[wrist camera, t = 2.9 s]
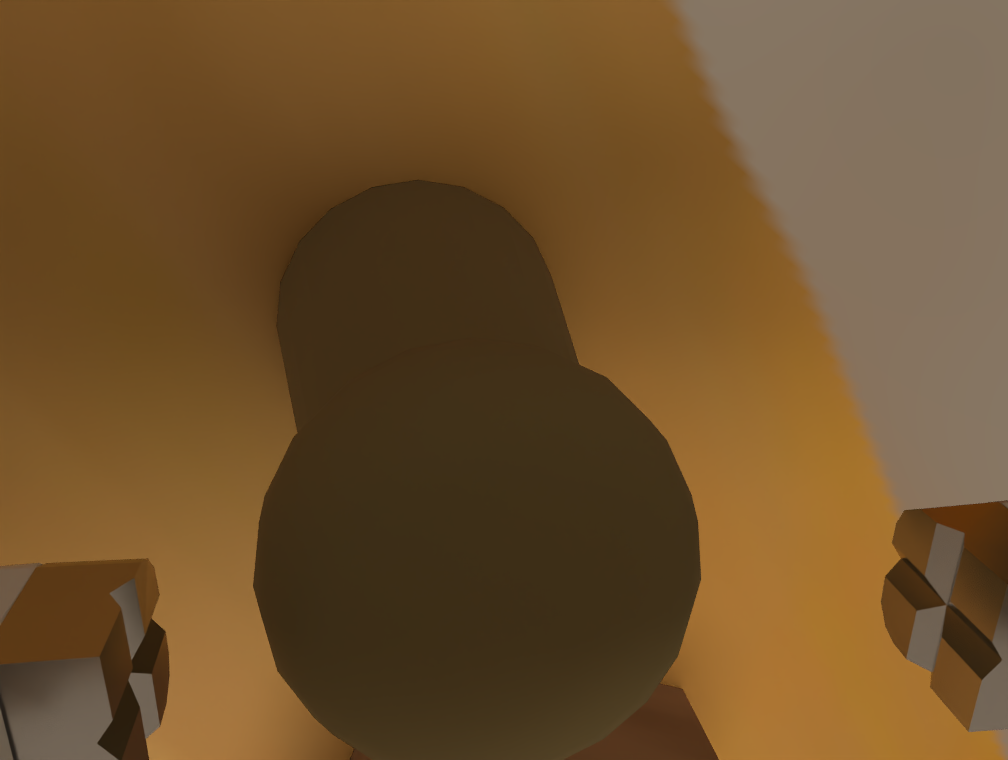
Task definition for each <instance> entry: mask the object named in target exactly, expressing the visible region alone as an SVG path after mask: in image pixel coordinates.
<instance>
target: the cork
mask: <svg viewBox="0 0 1008 760" xmlns="http://www.w3.org/2000/svg"><path fill="white" fill-rule="evenodd" d="M277 331H278V336H279V341H280V346H281V351H282V356H283V361H284V366H285V371H286V376H287V382H288V387H289V392H290V397H291V402H292V407H293V412H294V417H295V422H296V427H297V432H298V433H297V434H296V435H295V436H294V438H293V439H292V441H291V443H290V446H289V448H288V450H287V452H286V454H285V456H284V458H283V460H282V462H281V464H280V466H279V468H278V470H277V472H276V474H275V476H274V478H273V480H272V482H271V484H270V486H269V488H268V490H267V492H266V495H265V497H264V502H263V506H262V511H261V516H260V521H259V529H258V540H257V550H256V561H255V571H254V582H253V587H254V591H255V594H256V598H257V602H258V606H259V609H260V613H261V617H262V620H263V623H264V627H265V630H266V633H267V637H268V640H269V644H270V647H271V650H272V654H273V657H274V660H275V664H276V667H277V671H278V672H279V674H280V675H281V676H282V677H283V679H284V680H285V681H286V682H287V684H288V685H289V686H290V688H291V689H292V690H293V691H294V693H295V694H296V695H297V697H298V698H299V699H300V700H301V702H302V703H303V704H304V705H305V707H306V708H307V709H308V711H309V712H310V713H311V714H312V716H313V717H314V718H315V719H316V720H317V721H318V722H319V723H321V724H322V725H323V726H324V727H325V728H326V729H327V730H328V731H329V732H331V733H332V734H333V735H334V736H336V737H337V738H339V739H341V740H342V741H344V742H345V743H347V744H349V745H350V746H352V747H353V748H355V749H356V750H358V751H360V752H361V753H363V754H364V755H366V756H367V757H369V758H371V759H372V760H563V759H565V758H567V757H569V756H571V755H573V754H575V753H577V752H579V751H581V750H583V749H585V748H587V747H589V746H591V745H593V744H595V743H597V742H599V741H601V740H603V739H604V738H606V737H607V736H608V735H609V734H610V733H611V732H612V731H614V730H615V729H616V728H617V727H618V726H619V725H621V724H622V723H623V722H624V721H625V720H626V719H628V718H629V717H630V716H631V715H632V714H633V713H635V712H636V711H637V710H638V709H639V708H640V707H642V706H643V705H644V704H645V703H646V702H647V701H648V700H649V698H650V697H651V695H652V694H653V692H654V691H655V689H656V688H657V686H658V685H659V683H660V682H661V680H662V679H663V677H664V676H665V674H666V673H667V671H668V670H669V668H670V667H671V665H672V664H673V663H674V661H675V660H676V658H677V657H678V654H679V651H680V647H681V644H682V641H683V638H684V634H685V631H686V628H687V624H688V621H689V618H690V614H691V611H692V608H693V604H694V601H695V597H696V594H697V591H698V587H699V584H700V581H701V569H700V551H699V532H698V520H697V516H696V512H695V508H694V504H693V499H692V495H691V493H690V491H689V488H688V486H687V484H686V482H685V480H684V477H683V475H682V473H681V471H680V468H679V466H678V464H677V462H676V460H675V457H674V455H673V453H672V451H671V448H670V446H669V444H668V442H667V440H666V439H665V438H664V436H663V435H662V434H661V433H660V432H659V431H658V429H657V428H656V427H655V426H654V425H653V423H652V422H651V421H650V420H649V419H648V418H647V417H646V416H645V415H644V414H643V413H642V412H641V411H640V410H639V409H638V408H637V407H636V406H635V405H634V404H633V403H632V402H631V401H630V400H629V399H628V398H627V397H626V396H625V395H624V394H623V393H622V392H621V391H620V390H619V389H618V388H617V387H616V386H615V385H614V384H613V383H612V382H611V381H610V380H609V379H608V378H606V377H604V376H602V375H600V374H598V373H596V372H594V371H591V370H589V369H587V368H585V367H583V366H581V365H579V363H578V359H577V356H576V353H575V350H574V347H573V343H572V340H571V337H570V334H569V331H568V328H567V324H566V321H565V318H564V315H563V312H562V308H561V305H560V302H559V299H558V296H557V293H556V289H555V286H554V283H553V280H552V277H551V275H550V272H549V270H548V268H547V266H546V264H545V262H544V260H543V258H542V256H541V253H540V251H539V249H538V247H537V245H536V243H535V241H534V239H533V238H532V237H531V236H530V235H529V234H528V233H527V232H526V230H525V229H524V228H523V227H522V226H521V225H520V224H519V223H518V222H517V221H516V220H515V219H514V218H513V217H512V216H511V215H510V214H509V213H508V212H507V211H506V210H505V209H504V208H503V207H501V206H499V205H497V204H495V203H493V202H491V201H489V200H488V199H486V198H484V197H482V196H480V195H478V194H476V193H474V192H472V191H470V190H468V189H466V188H464V187H460V186H453V185H447V184H440V183H434V182H428V181H421V180H415V181H409V182H403V183H397V184H391V185H384V186H378V187H372V188H370V189H368V190H366V191H364V192H363V193H361V194H359V195H357V196H355V197H353V198H351V199H349V200H347V201H345V202H343V203H342V204H340V205H338V206H336V207H334V208H332V209H330V210H329V212H328V213H327V214H326V215H325V216H324V217H323V218H322V219H321V220H320V221H319V222H318V223H317V224H316V225H315V226H314V227H313V228H312V229H311V230H310V231H309V232H308V233H307V234H306V236H305V237H304V238H303V239H302V240H301V241H300V242H299V244H298V246H297V248H296V250H295V252H294V254H293V257H292V259H291V261H290V263H289V265H288V268H287V270H286V272H285V274H284V276H283V278H282V281H281V283H280V294H279V305H278V315H277Z"/></svg>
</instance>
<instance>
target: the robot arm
mask: <svg viewBox="0 0 1008 760" xmlns="http://www.w3.org/2000/svg"><path fill="white" fill-rule="evenodd" d="M892 544H893V546H894V547H895V549H896V551H897V552H898V554H899V556H900V558H901V559H900V560H899V561H898V563H897V564H896V565H895V566H894V567H893V568H892V569H891V570H890V572H889V573H888V574H887V575H886V576H885V580H884V586H883V592H882V599H881V605H882V611H883V616H884V622H885V627H886V629H887V631H888V633H889V635H890V637H891V639H892V641H893V643H894V645H895V646H896V647H897V648H898V649H899V651H900V652H901V653H902V654H903V656H904V657H905V658H906V659H907V660H909V661H911V662H913V663H915V664H917V665H919V666H921V667H923V668H925V669H927V670H929V671H931V682H930V688H931V689H932V690H933V691H934V692H935V693H936V695H937V696H938V697H939V698H940V699H941V700H942V702H943V703H944V704H945V705H946V706H947V707H948V709H949V710H950V711H951V712H952V713H953V714H954V716H955V717H956V718H957V719H958V720H959V721H960V723H961V724H962V725H963V726H964V727H965V728H966V730H967V731H968V732H974V731H988V730H1002V729H1008V500H1004V501H995V502H988V503H978V504H967V505H956V506H946V507H936V508H924V509H914V510H904V512H903V513H902V515H901V517H900V518H899V520H898V521H897V523H896V527H895V531H894V536H893V540H892ZM159 595H160V594H159V589H158V584H157V579H156V574H155V569H154V566H153V565H152V564H151V562H150V561H149V559H148V558H146V559H124V560H103V561H81V562H60V563H46V564H40V563H32V564H19V565H7V566H0V760H149V757H148V751H147V745H146V738H147V737H148V736H149V735H151V734H152V733H153V732H154V731H155V730H156V729H158V728H159V727H160V725H161V721H162V718H163V714H164V710H165V707H166V702H167V693H168V684H169V652H168V645H167V638H166V632H165V631H164V630H163V629H162V628H161V627H160V626H159V625H158V624H157V623H156V622H154V621H153V620H152V619H151V617H152V615H153V612H154V609H155V606H156V604H157V601H158V598H159Z"/></svg>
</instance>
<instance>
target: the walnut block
mask: <svg viewBox="0 0 1008 760" xmlns="http://www.w3.org/2000/svg"><path fill="white" fill-rule="evenodd" d="M350 760H372V759H371V758H369V757H367V756H366V755H364V754H363V753H361V752H360V751H358V750H356V749H354V751H353V754H352V756H351V758H350ZM563 760H719V759H718V757H717V755H716V753H715V751H714V749H713V747H712V745H711V743H710V742H709V740H708V738H707V736H706V734H705V732H704V730H703V728H702V726H701V724H700V722H699V720H698V718H697V716H696V714H695V712H694V710H693V709H692V707H691V705H690V703H689V701H688V699H687V697H686V695H685V693H684V691H683V689H680V688H676V687H672V686H667V685H663V684H659V685H658V686H657V688H656V689H655V691H654V692H653V694H652V695H651V697H650V698H649V700H648V701H647V702H646V703H645V704H644V705H643V706H642V707H640V708H639V709H638V710H637V711H636V712H635V713H633V714H632V715H631V716H630V717H629V718H628V719H626V720H625V721H624V722H623V723H622V724H621V725H619V726H618V727H617V728H616V729H615V730H614V731H612V732H611V733H610V734H609V735H608V736H607V737H606V738H604V739H603V740H601V741H599V742H597V743H595V744H593V745H591V746H589V747H587V748H585V749H583V750H581V751H579V752H577V753H575V754H573V755H571V756H569V757H567V758H565V759H563Z"/></svg>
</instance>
